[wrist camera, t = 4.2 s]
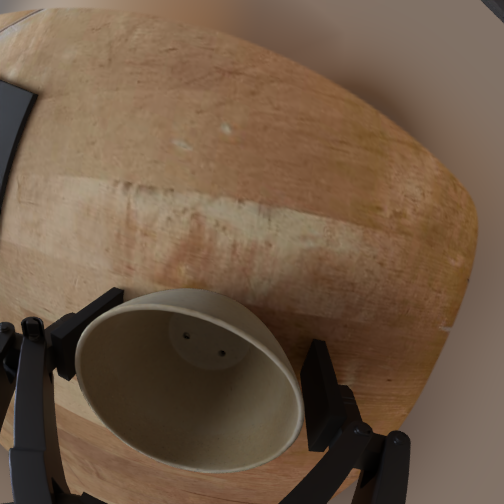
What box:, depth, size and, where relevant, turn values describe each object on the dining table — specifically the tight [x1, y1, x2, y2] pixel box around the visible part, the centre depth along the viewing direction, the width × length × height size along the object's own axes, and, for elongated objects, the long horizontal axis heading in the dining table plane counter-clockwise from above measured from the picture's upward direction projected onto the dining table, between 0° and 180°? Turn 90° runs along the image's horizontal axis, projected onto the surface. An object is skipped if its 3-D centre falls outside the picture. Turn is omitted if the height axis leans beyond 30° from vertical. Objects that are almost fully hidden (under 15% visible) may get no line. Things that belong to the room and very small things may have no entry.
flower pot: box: [75, 288, 304, 473], centre depth 13 cm, size 10×10×7 cm
